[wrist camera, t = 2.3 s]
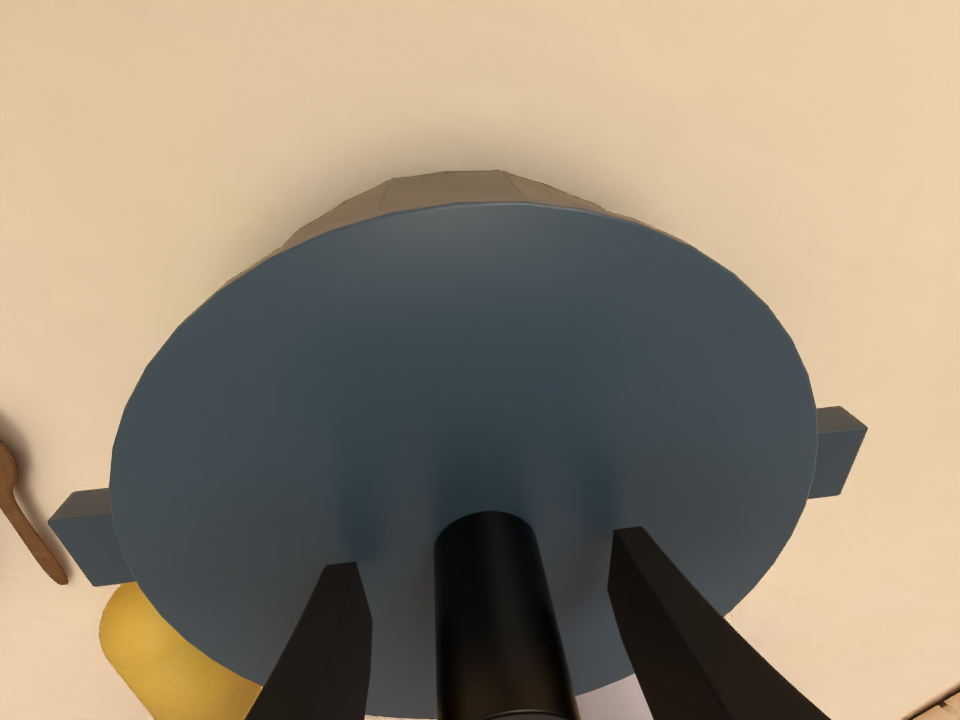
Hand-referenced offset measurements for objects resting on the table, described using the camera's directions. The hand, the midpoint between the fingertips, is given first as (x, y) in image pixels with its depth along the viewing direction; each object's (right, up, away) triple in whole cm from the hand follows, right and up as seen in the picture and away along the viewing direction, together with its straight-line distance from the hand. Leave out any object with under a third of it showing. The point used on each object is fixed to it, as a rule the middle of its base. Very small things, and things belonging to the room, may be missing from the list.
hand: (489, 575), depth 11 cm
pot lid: (0, +1, +1) cm, 1 cm away
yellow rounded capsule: (-12, -6, +11) cm, 17 cm away
